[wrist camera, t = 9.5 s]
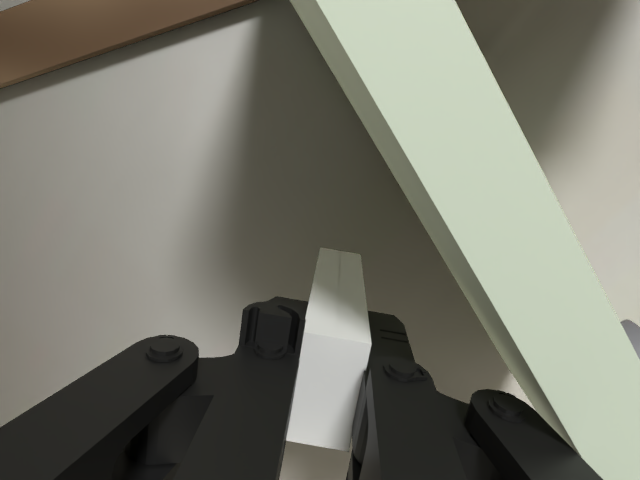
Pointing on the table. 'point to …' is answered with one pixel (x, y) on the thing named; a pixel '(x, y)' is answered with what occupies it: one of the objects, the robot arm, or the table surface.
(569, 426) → the door
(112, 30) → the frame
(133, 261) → the table surface
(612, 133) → the table surface
